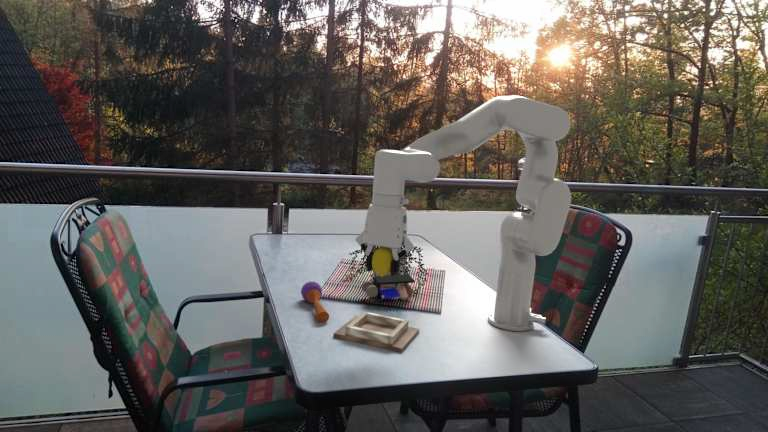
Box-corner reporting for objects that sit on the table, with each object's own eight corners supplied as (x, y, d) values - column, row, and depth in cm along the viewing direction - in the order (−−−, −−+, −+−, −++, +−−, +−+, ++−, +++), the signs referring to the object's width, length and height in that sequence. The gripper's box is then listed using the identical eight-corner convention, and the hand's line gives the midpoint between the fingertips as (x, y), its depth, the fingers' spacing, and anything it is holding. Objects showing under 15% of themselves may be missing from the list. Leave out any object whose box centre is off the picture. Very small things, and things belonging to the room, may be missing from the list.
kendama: (310, 309, 144) (298, 280, 162) (313, 329, 146) (301, 298, 164) (332, 304, 145) (318, 276, 164) (335, 325, 147) (320, 294, 166)
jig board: (418, 332, 144) (419, 321, 143) (401, 352, 131) (402, 340, 130) (355, 319, 150) (356, 308, 149) (333, 337, 137) (334, 325, 136)
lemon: (373, 280, 134) (376, 248, 133) (368, 273, 140) (370, 242, 138) (395, 280, 136) (398, 248, 134) (389, 273, 141) (391, 243, 140)
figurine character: (367, 309, 163) (415, 302, 167) (366, 284, 161) (415, 277, 165) (361, 301, 169) (408, 294, 173) (360, 277, 167) (407, 271, 172)
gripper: (425, 203, 135) (419, 274, 138) (360, 195, 141) (356, 263, 144) (416, 207, 128) (410, 282, 131) (349, 198, 134) (344, 270, 137)
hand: (382, 271), depth 137 cm, fingers closed on lemon, 5 cm apart
